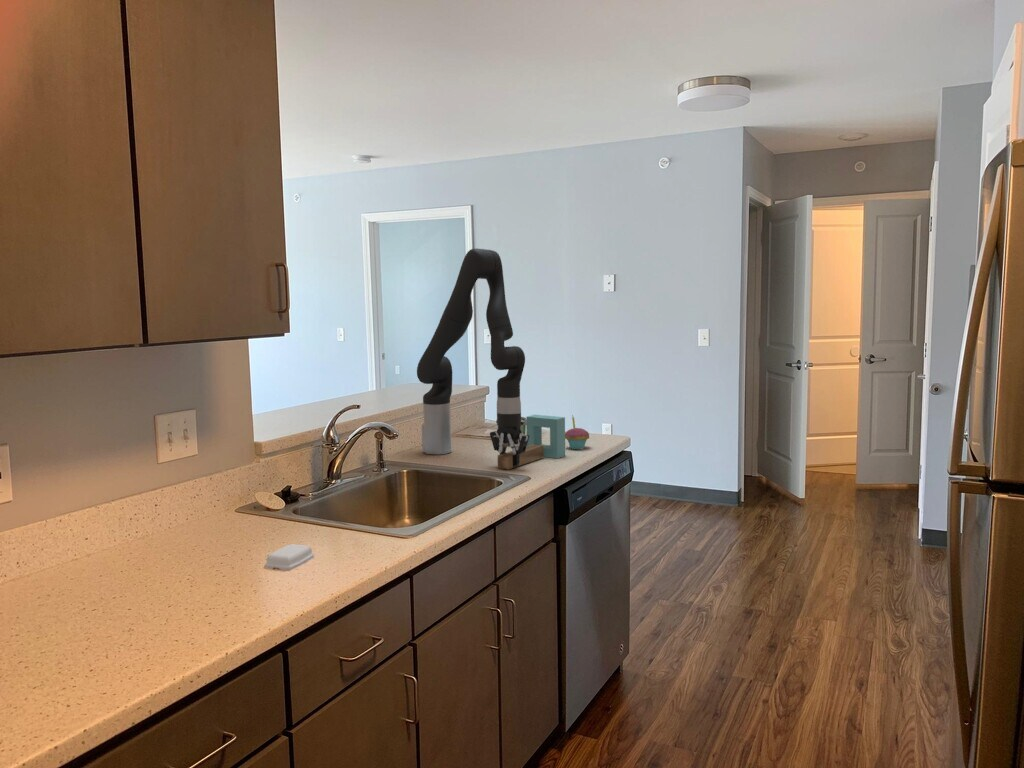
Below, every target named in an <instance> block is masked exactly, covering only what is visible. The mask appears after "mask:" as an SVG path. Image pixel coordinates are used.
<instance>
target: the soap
mask: <svg viewBox="0 0 1024 768" xmlns="http://www.w3.org/2000/svg"><path fill="white" fill-rule="evenodd" d="M314 558H315V554H314V553H313V550H312V548H311V546H308V545H304V544H303V545H302V544H293V543H290V544H287V545H286V546H285V545H284V546H283V547H281V548H278V549H277V550H275V551H274V552H271V553H270V554H268V555H267V557H266V562H265V563H264V568H266V569H271V570H273V569H274V568H275V569H278V570H279V571H292V570H294V569H296V568H298V567H300V566H302V565H304V564H306V563H307V562H309V561H311V560H312V559H314Z"/></svg>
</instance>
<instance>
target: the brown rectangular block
mask: <svg viewBox="0 0 1024 768" xmlns="http://www.w3.org/2000/svg"><path fill="white" fill-rule="evenodd" d="M513 455H514V454H513V451H512V450H510V451H506V453H504V454H500V453H499V454H497V469H503V470H511V469H514V468H517V467H520V466H523V465H526V464H529V463H531V462H535V461H537V460H541V459H543V458H544V457H543V445H535V444H532V445H529V446H527V447H526V450H525V452H524V453H520V455H519V457H520V459H519V460H520V463H519V464H518V466H516V467H513Z"/></svg>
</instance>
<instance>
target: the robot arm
mask: <svg viewBox="0 0 1024 768" xmlns="http://www.w3.org/2000/svg"><path fill="white" fill-rule="evenodd" d="M479 279H480V280H481V279H482V280H486V283H487V285H488V289H489V297H488V302H487V305H486V306H487V307H486V313H485V317H486V323H487V327H488V331H489V335H490V361H491V364H492V366H493V367H494V369H496V370H497V371H507V373H506V375H505V376H502V377H500V378H498V379H497V384H496V390H497V391H496V394H497V395H496V396H497V398H496V420H497V423H496V425H497V429H496V430H494V431H490V432H489V437H490V439H491V443H492V446H493V449H494V451H497V452H498V453H499V455H500V454H504V453H507V448H508V446H507V445H508V443H509V444H510V446H509V447H510V449H511V451H513V454H514V455H513V467H514V468H517V467H519V466H518V464H519V463H520V460H519V459H520V457H519V455H520V453H524V452H525V450H526V447H527V443H528V440H529V435H527V434H526V433H525V434H523V433H522V432H521V429H520V427H521V417H522V402H521V380H522V378H523V377H522V376H523V373H524V368H525V364H526V355H525V352H524V350H523V348H521V347H520V346H517V345H516V346H515V345H512V346H505V341H509V340H510V339H511V338H512V337H513V336H514V331H513V327H512V324H511V320H510V316H509V315H510V314H509V312H508V307H507V300H506V292H505V280H504V271H503V263H502V260H501V256H500V255H499V253H498V252H497V251H495V250H492V249H485V248H471V249H469V250H468V251H467V252H466V254H465V255H464V258H463V260H462V263H461V266H460V269H459V273H458V275H457V277H456V282H455V284H454V286H453V290H452V292H451V295H450V296H449V300H448V302H447V304H446V306H445V309H444V310H443V313H442V314H441V316H440V319H439V322H438V324H437V327H436V328H435V332H434V333H433V336H432V337H431V340H430V341H429V343H428V345H427V347H426V349H425V350H424V352H423V353H422V356H421V357H420V359H419V362H418V364H417V367H416V375H417V376H416V377H417V379H418V381H419V382H420V383H422V384H425V385H432V386H431V388H430V390H429V391H428V392H426V393H424V394H423V396H422V407H423V409H422V411H423V413H422V414H423V424H421V444H422V445H421V447H422V451H421V452H422V453H425V454H427V455H445V454H449V453H451V452H452V426H451V424H452V423H451V420H452V419H451V396H452V393H453V365H452V363H451V360H450V358H448V357H447V356H445V355H446V353H448V351H449V350H450V349H451V348H452V347H453V346H455V344H457V343H458V342H459V341H460V340H461V338H462V337H463V336H464V335H465V333H466V331H467V330H468V327H469V325H470V323H471V321H472V319H473V312H474V311H473V303H472V302H473V301H472V292H473V289H474V287H475V284H476V282H477V281H478V280H479ZM499 437H500V440H499ZM519 438H520V440H521V441H520V443H519ZM514 443H515V444H514ZM516 466H517V467H516Z"/></svg>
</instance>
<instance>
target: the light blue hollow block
mask: <svg viewBox="0 0 1024 768" xmlns="http://www.w3.org/2000/svg"><path fill="white" fill-rule="evenodd" d="M525 418H526V421H527V425H526V435H529V440H528V443H527V446H529V445H532V444H535V445H543V458H548V457H550V458H551V459H556V458H557V459H560V457H561V458H563V457H566V439H565V433H566V417H564V416H555V415H543V414H532V415H528V416H525ZM543 428H548V429H549V444H543V442H542V441H543V440H542V439H543V438H542V437H543V435H542V429H543ZM557 459H556V460H557Z"/></svg>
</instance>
